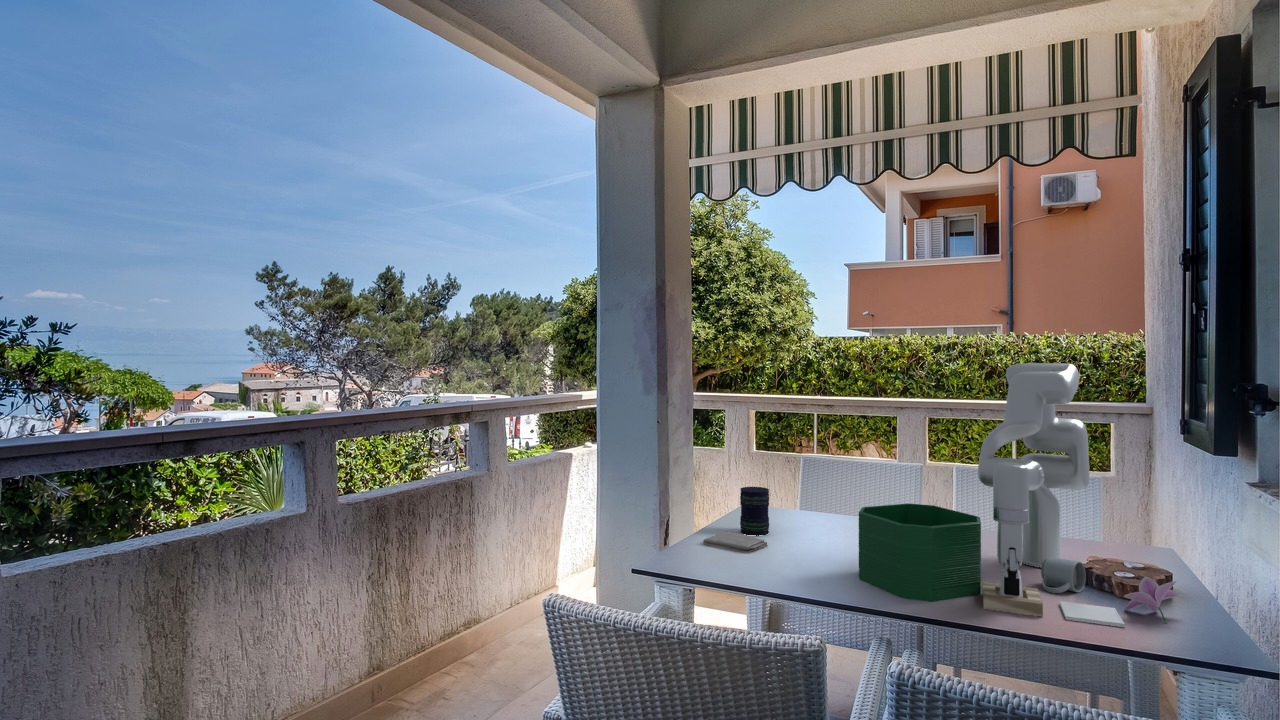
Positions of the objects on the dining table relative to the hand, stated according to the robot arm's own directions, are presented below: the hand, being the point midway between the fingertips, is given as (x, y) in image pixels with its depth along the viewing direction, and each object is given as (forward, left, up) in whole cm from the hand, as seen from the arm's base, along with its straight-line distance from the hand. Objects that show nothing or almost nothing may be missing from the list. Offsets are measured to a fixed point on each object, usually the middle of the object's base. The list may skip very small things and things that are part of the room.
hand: (1011, 591), depth 164 cm
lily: (-5, +29, -4) cm, 29 cm away
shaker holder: (0, 0, -3) cm, 3 cm away
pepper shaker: (0, 0, -3) cm, 3 cm away
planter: (-9, -21, -4) cm, 23 cm away
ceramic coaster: (0, +16, -3) cm, 16 cm away
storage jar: (-44, -75, -4) cm, 87 cm away
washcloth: (-25, -76, -4) cm, 80 cm away
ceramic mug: (-19, +12, -4) cm, 23 cm away
